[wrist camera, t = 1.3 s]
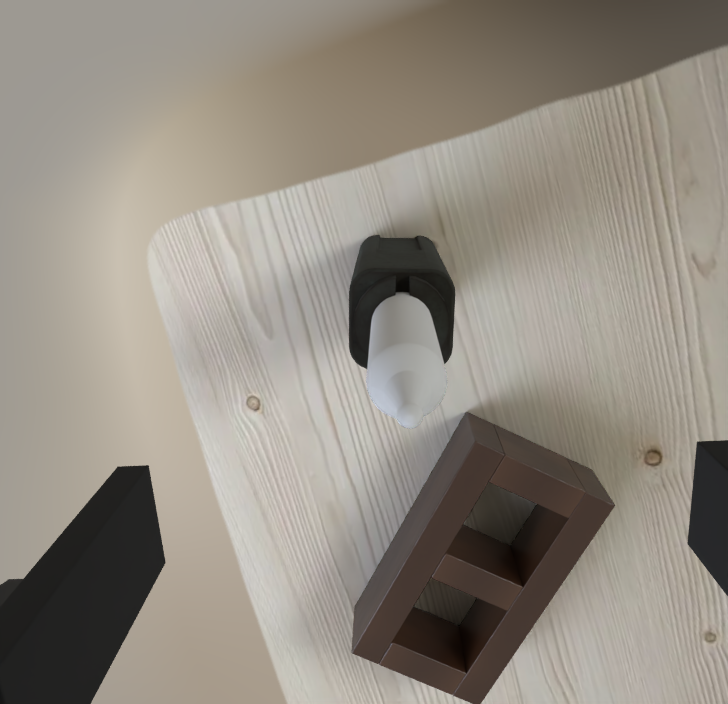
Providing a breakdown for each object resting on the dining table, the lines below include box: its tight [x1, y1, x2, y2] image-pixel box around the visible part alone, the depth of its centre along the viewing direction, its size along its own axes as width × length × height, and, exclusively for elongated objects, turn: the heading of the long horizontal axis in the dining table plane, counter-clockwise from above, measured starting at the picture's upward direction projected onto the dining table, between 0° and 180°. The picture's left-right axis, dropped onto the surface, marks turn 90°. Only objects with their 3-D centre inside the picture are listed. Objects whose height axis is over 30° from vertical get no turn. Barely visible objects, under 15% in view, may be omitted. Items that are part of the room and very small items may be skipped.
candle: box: [349, 235, 455, 429], centre depth 32 cm, size 5×5×25 cm
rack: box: [352, 412, 615, 704], centre depth 48 cm, size 10×19×5 cm, turn 154°
